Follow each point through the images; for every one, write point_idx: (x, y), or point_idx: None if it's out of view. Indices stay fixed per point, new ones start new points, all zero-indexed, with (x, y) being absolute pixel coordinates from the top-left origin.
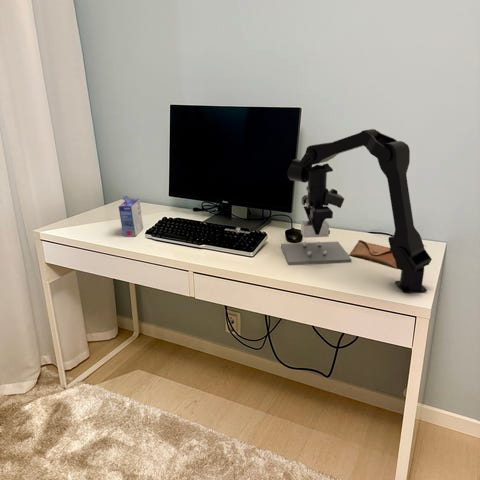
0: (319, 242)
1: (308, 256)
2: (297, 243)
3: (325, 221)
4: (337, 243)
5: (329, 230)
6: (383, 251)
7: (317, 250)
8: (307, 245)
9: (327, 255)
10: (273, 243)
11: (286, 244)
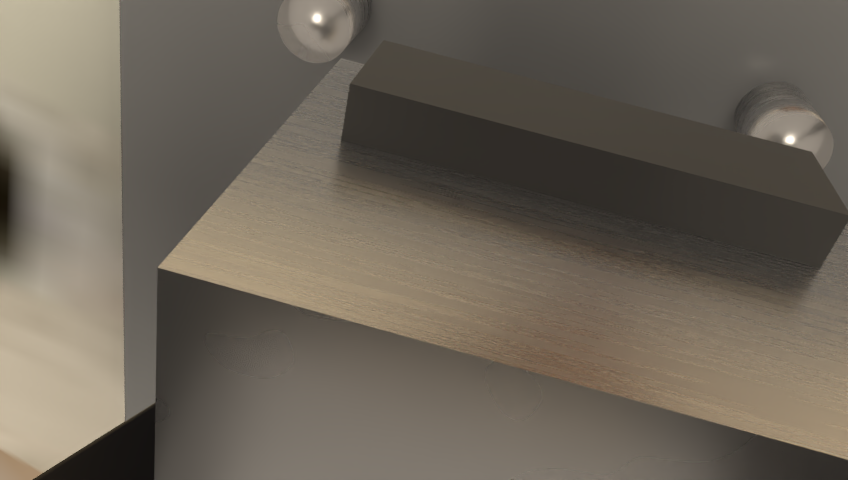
0: (314, 29)
1: None
2: (133, 258)
3: (389, 371)
4: None
5: (811, 214)
6: None
7: None
8: (242, 168)
9: (805, 73)
10: (33, 424)
11: (154, 390)
